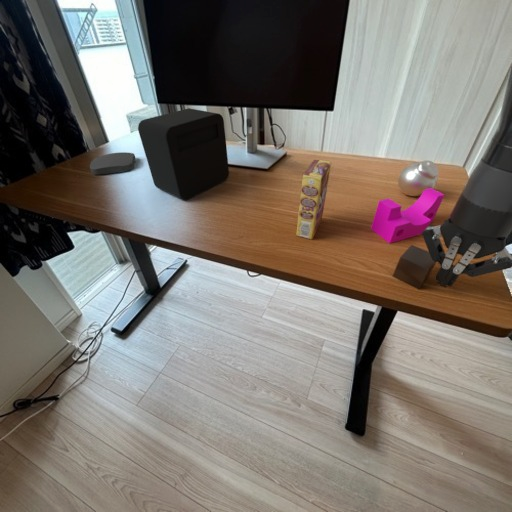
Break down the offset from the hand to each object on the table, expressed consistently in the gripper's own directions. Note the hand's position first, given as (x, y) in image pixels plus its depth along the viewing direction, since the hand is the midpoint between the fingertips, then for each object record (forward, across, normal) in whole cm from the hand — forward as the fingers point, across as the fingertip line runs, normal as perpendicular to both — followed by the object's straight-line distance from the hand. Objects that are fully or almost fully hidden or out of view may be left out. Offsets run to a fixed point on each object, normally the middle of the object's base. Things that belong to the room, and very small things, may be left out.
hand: (442, 283), depth 48 cm
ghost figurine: (+2, -18, +33) cm, 38 cm away
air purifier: (+2, -72, -5) cm, 72 cm away
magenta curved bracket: (+2, -12, +15) cm, 20 cm away
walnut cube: (+2, -5, 0) cm, 5 cm away
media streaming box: (+2, -107, -16) cm, 108 cm away
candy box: (+2, -29, 0) cm, 29 cm away
